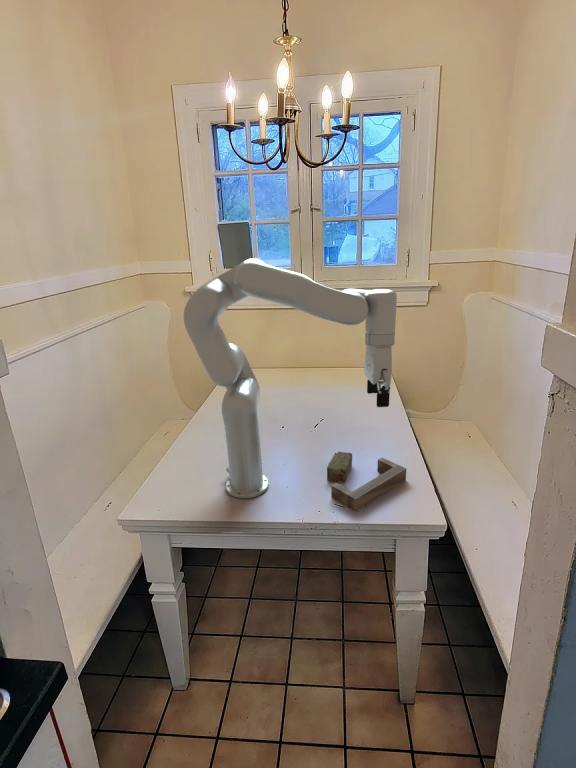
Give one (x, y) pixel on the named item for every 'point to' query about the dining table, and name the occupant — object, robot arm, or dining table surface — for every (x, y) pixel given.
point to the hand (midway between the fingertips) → (377, 399)
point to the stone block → (339, 467)
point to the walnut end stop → (370, 486)
